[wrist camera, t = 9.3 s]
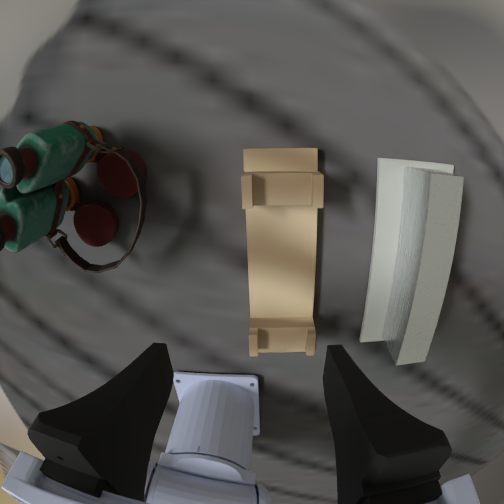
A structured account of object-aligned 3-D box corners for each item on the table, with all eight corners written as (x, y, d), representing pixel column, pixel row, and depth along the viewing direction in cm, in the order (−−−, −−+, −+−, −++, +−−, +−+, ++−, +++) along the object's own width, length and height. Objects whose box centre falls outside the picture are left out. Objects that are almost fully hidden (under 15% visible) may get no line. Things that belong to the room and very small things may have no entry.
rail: (408, 333, 24) (424, 361, 20) (381, 335, 24) (395, 365, 20) (434, 169, 19) (463, 176, 15) (404, 166, 19) (430, 173, 15)
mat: (422, 333, 24) (424, 335, 24) (359, 339, 25) (360, 342, 24) (451, 164, 19) (453, 165, 19) (377, 157, 19) (379, 158, 19)
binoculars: (74, 344, 14) (-43, 248, 12) (129, 261, 24) (40, 198, 21) (138, 213, 12) (-12, 107, 9) (185, 170, 21) (83, 103, 19)
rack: (309, 347, 25) (312, 369, 22) (252, 347, 25) (250, 370, 23) (316, 148, 19) (323, 149, 17) (244, 148, 20) (240, 150, 17)
